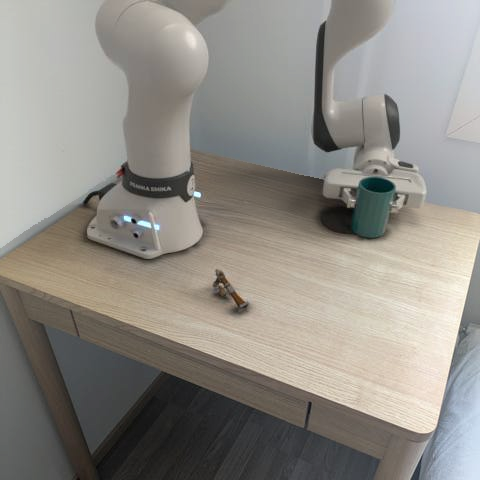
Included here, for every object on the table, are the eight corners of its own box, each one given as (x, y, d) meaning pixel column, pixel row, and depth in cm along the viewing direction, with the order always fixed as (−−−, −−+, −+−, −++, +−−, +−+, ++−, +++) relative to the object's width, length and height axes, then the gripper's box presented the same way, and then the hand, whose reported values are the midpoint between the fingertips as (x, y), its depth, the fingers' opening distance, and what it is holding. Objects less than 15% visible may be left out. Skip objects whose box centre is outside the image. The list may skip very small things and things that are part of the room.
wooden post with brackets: (215, 279, 85) (221, 264, 81) (242, 315, 83) (250, 302, 79) (206, 283, 84) (212, 268, 80) (233, 319, 82) (241, 306, 78)
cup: (348, 234, 97) (357, 190, 91) (352, 217, 102) (361, 174, 96) (383, 240, 96) (394, 196, 90) (386, 222, 101) (396, 179, 94)
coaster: (316, 228, 99) (316, 227, 99) (324, 205, 106) (325, 204, 106) (366, 237, 97) (366, 236, 97) (371, 212, 104) (371, 211, 104)
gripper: (326, 156, 104) (321, 186, 94) (426, 166, 101) (431, 198, 91) (322, 183, 108) (317, 215, 98) (418, 194, 106) (422, 228, 96)
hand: (373, 207), depth 95 cm, fingers closed on cup, 7 cm apart
